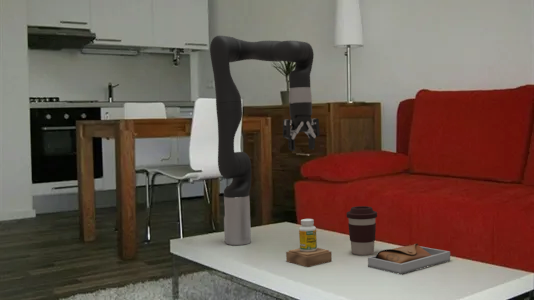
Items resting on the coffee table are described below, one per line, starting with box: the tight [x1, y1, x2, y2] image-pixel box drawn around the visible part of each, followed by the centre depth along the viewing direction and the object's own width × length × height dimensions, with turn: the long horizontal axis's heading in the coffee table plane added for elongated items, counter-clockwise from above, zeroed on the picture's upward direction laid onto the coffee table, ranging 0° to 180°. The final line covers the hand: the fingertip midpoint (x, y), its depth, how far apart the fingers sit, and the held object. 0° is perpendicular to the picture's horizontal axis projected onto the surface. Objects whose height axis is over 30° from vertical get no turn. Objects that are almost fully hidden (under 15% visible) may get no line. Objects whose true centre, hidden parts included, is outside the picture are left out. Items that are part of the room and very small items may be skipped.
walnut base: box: [285, 247, 333, 268], centre depth 187 cm, size 10×10×4 cm
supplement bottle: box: [298, 218, 318, 252], centre depth 187 cm, size 5×5×10 cm
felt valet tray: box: [367, 245, 451, 275], centre depth 180 cm, size 13×23×3 cm, turn 128°
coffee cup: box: [346, 205, 378, 256], centre depth 196 cm, size 10×10×15 cm
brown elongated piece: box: [375, 243, 432, 264], centre depth 181 cm, size 18×7×7 cm
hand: (302, 150), depth 201 cm, fingers open, 8 cm apart
